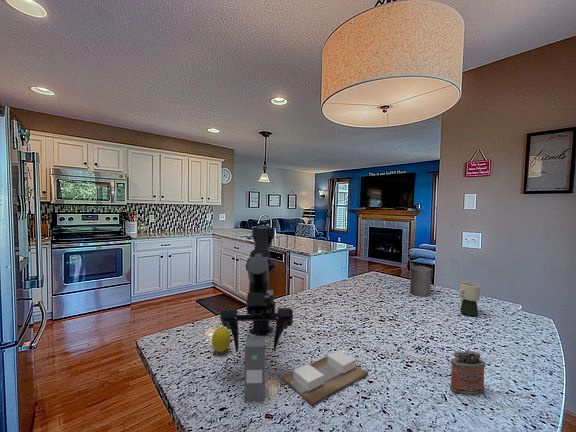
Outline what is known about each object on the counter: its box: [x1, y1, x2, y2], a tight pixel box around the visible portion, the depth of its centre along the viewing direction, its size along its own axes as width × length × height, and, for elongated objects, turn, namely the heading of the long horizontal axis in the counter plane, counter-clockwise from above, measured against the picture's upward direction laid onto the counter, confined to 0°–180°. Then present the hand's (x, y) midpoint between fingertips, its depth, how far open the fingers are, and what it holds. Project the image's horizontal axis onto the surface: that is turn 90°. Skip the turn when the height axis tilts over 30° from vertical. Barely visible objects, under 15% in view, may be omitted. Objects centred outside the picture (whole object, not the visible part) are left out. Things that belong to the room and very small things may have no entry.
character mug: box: [458, 281, 481, 317], centre depth 117 cm, size 11×7×13 cm, turn 107°
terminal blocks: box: [292, 350, 357, 392], centre depth 73 cm, size 6×17×2 cm, turn 126°
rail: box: [290, 363, 359, 394], centre depth 73 cm, size 5×20×1 cm, turn 126°
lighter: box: [449, 349, 486, 396], centre depth 68 cm, size 8×3×10 cm, turn 92°
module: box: [243, 335, 266, 403], centre depth 66 cm, size 5×4×13 cm
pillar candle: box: [409, 265, 432, 298], centre depth 144 cm, size 10×10×15 cm
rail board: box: [281, 356, 369, 407], centre depth 73 cm, size 12×20×1 cm, turn 126°
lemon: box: [211, 326, 232, 353], centre depth 85 cm, size 6×6×8 cm
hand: (255, 351), depth 68 cm, fingers open, 9 cm apart
